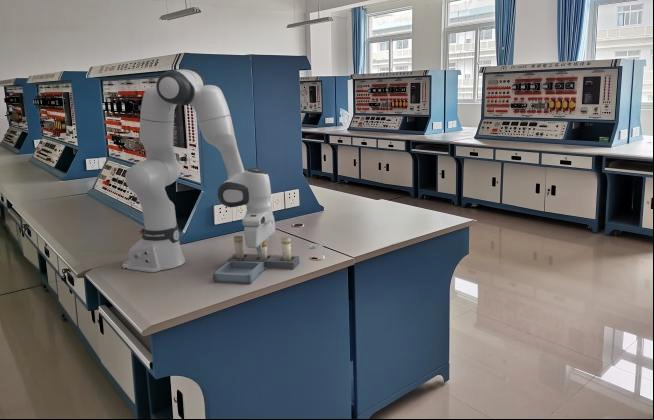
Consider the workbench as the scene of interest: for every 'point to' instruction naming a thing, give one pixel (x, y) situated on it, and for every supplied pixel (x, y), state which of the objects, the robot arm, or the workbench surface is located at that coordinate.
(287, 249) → the right fuse
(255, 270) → the parts tray
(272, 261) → the fuse holder
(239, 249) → the left fuse
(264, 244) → the marked fuse
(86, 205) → the workbench surface
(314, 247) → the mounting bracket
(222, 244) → the workbench surface
